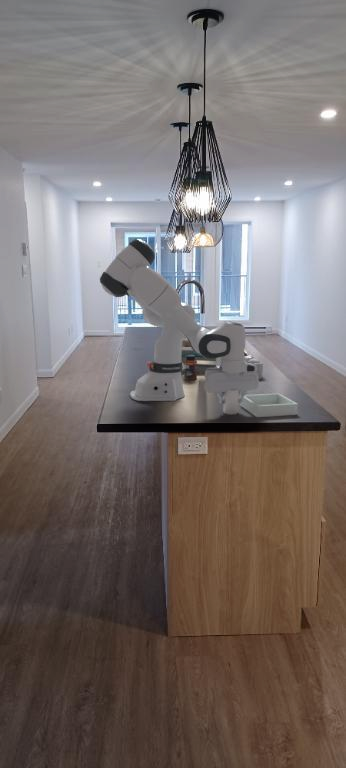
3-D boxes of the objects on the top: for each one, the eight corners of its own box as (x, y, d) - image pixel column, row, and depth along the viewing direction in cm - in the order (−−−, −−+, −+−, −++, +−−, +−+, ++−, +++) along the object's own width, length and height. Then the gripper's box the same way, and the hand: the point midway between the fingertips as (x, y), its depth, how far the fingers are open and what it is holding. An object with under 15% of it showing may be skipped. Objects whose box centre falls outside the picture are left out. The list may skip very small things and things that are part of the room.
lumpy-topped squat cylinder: (263, 379, 252) (264, 361, 250) (235, 378, 252) (236, 360, 250) (259, 374, 263) (260, 357, 261) (233, 374, 262) (234, 356, 260)
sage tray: (256, 417, 191) (257, 406, 190) (240, 405, 206) (240, 395, 205) (297, 414, 195) (297, 403, 194) (278, 403, 210) (278, 393, 209)
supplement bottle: (196, 377, 254) (196, 354, 251) (197, 380, 248) (197, 356, 245) (183, 377, 253) (184, 354, 251) (184, 380, 248) (184, 356, 245)
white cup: (226, 414, 193) (226, 390, 191) (220, 410, 199) (221, 387, 196) (240, 413, 195) (241, 389, 193) (234, 409, 200) (235, 386, 198)
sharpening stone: (178, 371, 268) (178, 349, 265) (180, 368, 275) (181, 347, 273) (227, 373, 264) (228, 351, 261) (229, 370, 271) (229, 349, 269)
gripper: (207, 369, 187) (206, 406, 190) (261, 366, 192) (259, 403, 195) (202, 365, 193) (201, 402, 196) (254, 363, 198) (252, 399, 201)
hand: (230, 402), depth 196 cm, fingers closed on white cup, 6 cm apart
